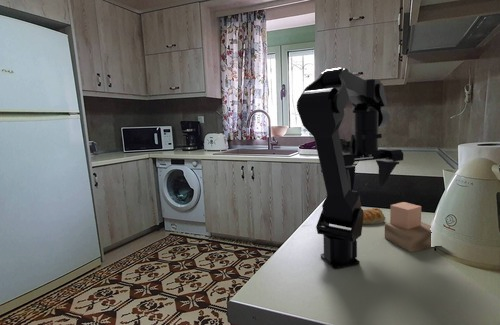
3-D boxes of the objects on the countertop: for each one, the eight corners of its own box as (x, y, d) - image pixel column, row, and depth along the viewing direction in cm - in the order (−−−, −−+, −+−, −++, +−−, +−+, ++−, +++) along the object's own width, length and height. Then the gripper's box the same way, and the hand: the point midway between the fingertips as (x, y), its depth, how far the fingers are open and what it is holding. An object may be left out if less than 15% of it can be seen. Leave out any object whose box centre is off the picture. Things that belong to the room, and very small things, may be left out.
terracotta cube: (407, 229, 72) (408, 210, 72) (390, 223, 77) (390, 205, 76) (420, 225, 74) (421, 206, 74) (403, 219, 79) (403, 201, 78)
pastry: (362, 227, 86) (362, 215, 85) (347, 221, 92) (347, 209, 92) (387, 222, 89) (387, 210, 89) (371, 216, 95) (371, 205, 95)
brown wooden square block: (410, 252, 69) (411, 235, 69) (384, 237, 78) (384, 223, 77) (441, 246, 71) (442, 230, 71) (413, 232, 80) (413, 218, 79)
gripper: (377, 127, 86) (376, 179, 88) (318, 131, 81) (319, 186, 84) (405, 128, 75) (404, 187, 77) (340, 133, 71) (340, 195, 73)
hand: (366, 189), depth 78 cm, fingers open, 9 cm apart
